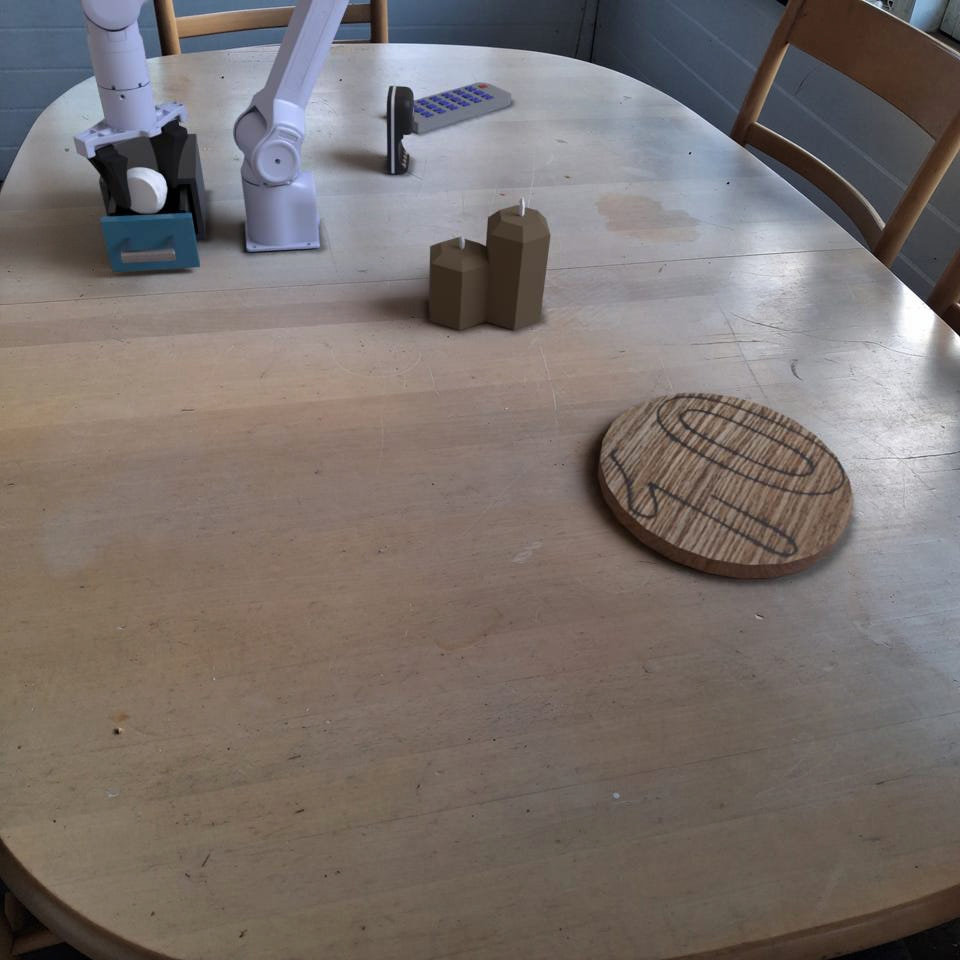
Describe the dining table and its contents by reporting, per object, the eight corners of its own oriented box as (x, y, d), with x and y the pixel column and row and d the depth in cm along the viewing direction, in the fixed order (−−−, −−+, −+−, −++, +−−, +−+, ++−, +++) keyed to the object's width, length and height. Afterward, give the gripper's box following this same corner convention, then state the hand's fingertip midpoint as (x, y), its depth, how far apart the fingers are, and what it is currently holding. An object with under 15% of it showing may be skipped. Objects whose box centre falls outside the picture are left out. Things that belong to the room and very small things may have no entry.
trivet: (803, 622, 79) (810, 608, 78) (553, 504, 88) (555, 490, 86) (874, 465, 95) (881, 451, 94) (657, 378, 104) (660, 365, 102)
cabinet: (205, 239, 120) (195, 178, 114) (113, 244, 118) (98, 181, 112) (205, 192, 129) (196, 133, 124) (120, 196, 127) (106, 135, 121)
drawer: (199, 287, 110) (191, 236, 105) (109, 292, 108) (96, 241, 103) (200, 219, 122) (192, 171, 117) (119, 223, 120) (107, 174, 115)
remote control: (388, 118, 153) (387, 105, 151) (485, 90, 164) (486, 77, 163) (418, 134, 149) (418, 121, 147) (515, 104, 160) (516, 91, 159)
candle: (560, 294, 115) (575, 183, 105) (518, 348, 106) (531, 232, 96) (464, 266, 119) (470, 156, 109) (415, 316, 110) (417, 201, 100)
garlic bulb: (180, 195, 114) (173, 153, 110) (166, 218, 110) (157, 175, 106) (137, 192, 114) (128, 150, 110) (121, 214, 110) (111, 171, 106)
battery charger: (412, 176, 137) (412, 100, 129) (386, 175, 137) (386, 99, 129) (414, 156, 142) (415, 82, 134) (390, 155, 142) (389, 81, 134)
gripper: (92, 109, 95) (120, 227, 105) (197, 73, 104) (214, 184, 114) (50, 91, 98) (80, 208, 107) (156, 57, 107) (175, 168, 116)
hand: (146, 195), depth 111 cm, fingers closed on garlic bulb, 6 cm apart
